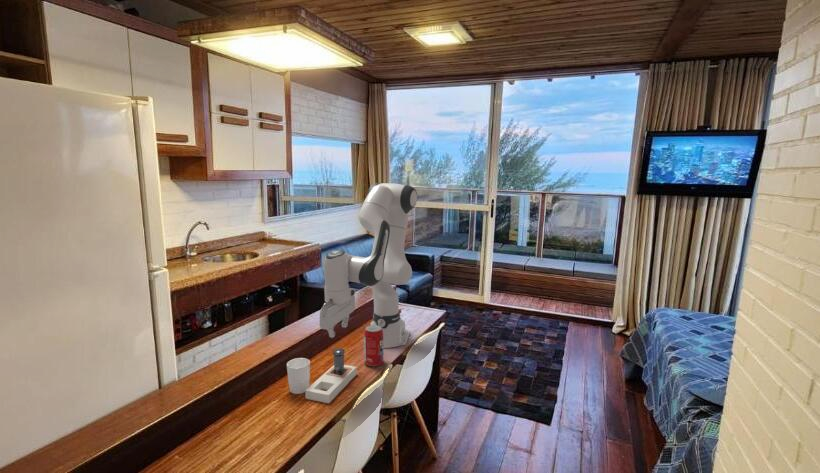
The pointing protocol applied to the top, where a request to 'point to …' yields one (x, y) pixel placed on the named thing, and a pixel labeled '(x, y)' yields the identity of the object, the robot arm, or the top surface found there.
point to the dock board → (330, 384)
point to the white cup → (298, 375)
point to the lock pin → (338, 361)
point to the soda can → (373, 345)
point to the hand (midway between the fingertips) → (338, 331)
